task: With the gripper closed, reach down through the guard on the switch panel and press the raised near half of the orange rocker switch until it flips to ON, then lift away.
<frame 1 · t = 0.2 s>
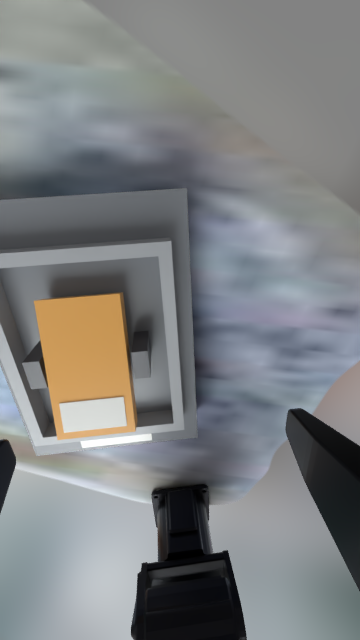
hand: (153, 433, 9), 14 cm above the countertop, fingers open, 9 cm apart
rocker: (90, 366, 17), point 5 cm above the countertop, hinge at 15.0°
switch panel: (104, 329, 22), on the countertop
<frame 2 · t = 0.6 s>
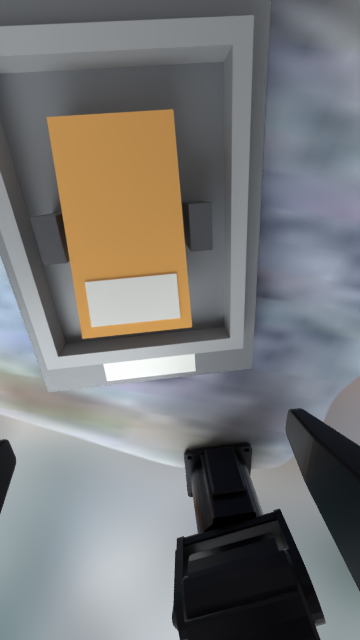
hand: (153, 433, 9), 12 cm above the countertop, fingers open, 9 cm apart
rocker: (127, 232, 12), point 5 cm above the countertop, hinge at 15.0°
switch panel: (134, 222, 17), on the countertop
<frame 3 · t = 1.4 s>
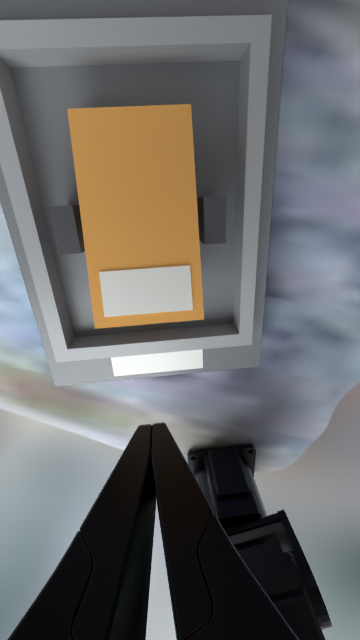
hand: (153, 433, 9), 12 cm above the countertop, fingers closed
rocker: (141, 224, 12), point 5 cm above the countertop, hinge at 15.0°
switch panel: (145, 218, 17), on the countertop
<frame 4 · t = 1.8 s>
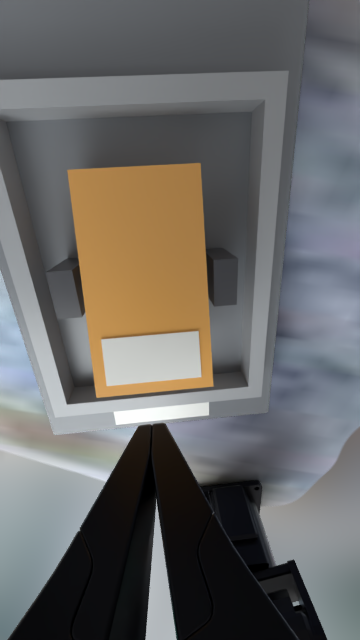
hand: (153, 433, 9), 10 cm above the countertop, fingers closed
rocker: (146, 285, 12), point 5 cm above the countertop, hinge at 15.0°
switch panel: (149, 261, 16), on the countertop
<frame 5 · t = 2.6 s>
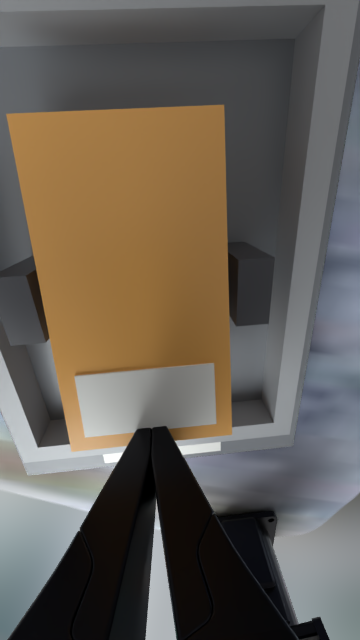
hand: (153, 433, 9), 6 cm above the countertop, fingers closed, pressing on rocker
rocker: (139, 297, 8), point 5 cm above the countertop, hinge at 10.8°, touching gripper
switch panel: (145, 259, 13), on the countertop
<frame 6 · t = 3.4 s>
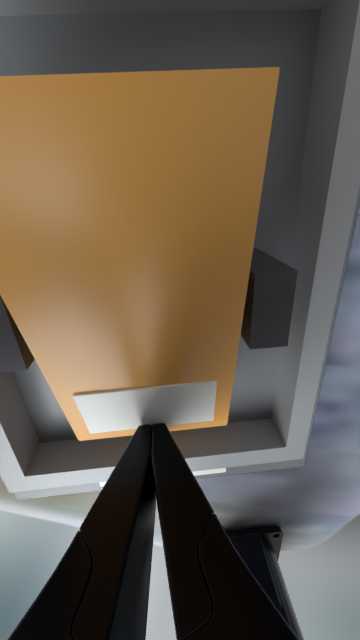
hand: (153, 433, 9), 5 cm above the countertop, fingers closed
rocker: (137, 316, 7), point 5 cm above the countertop, hinge at -13.7°
switch panel: (144, 265, 12), on the countertop
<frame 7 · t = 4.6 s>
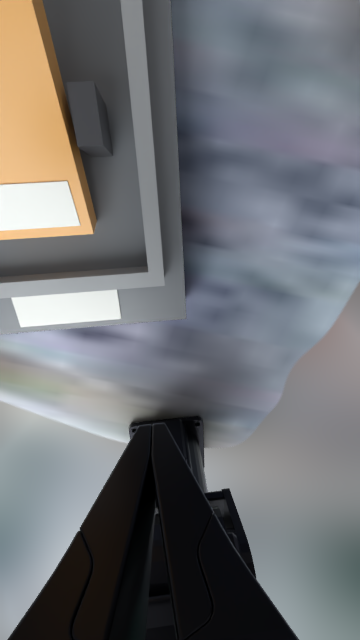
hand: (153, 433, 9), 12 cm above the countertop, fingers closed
rocker: (2, 122, 11), point 5 cm above the countertop, hinge at -21.7°, touching switch panel
switch panel: (50, 147, 15), on the countertop
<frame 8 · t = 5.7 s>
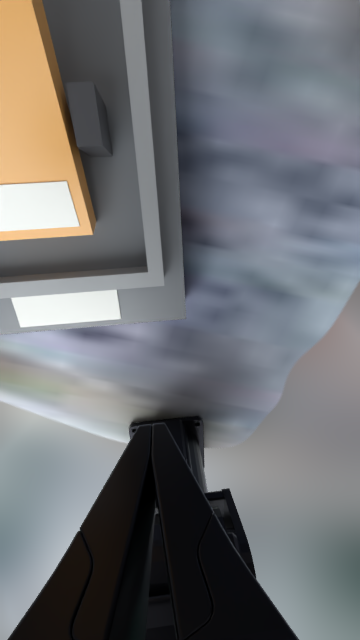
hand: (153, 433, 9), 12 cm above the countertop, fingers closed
rocker: (1, 122, 11), point 5 cm above the countertop, hinge at -20.6°
switch panel: (50, 147, 15), on the countertop
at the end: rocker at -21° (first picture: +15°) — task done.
